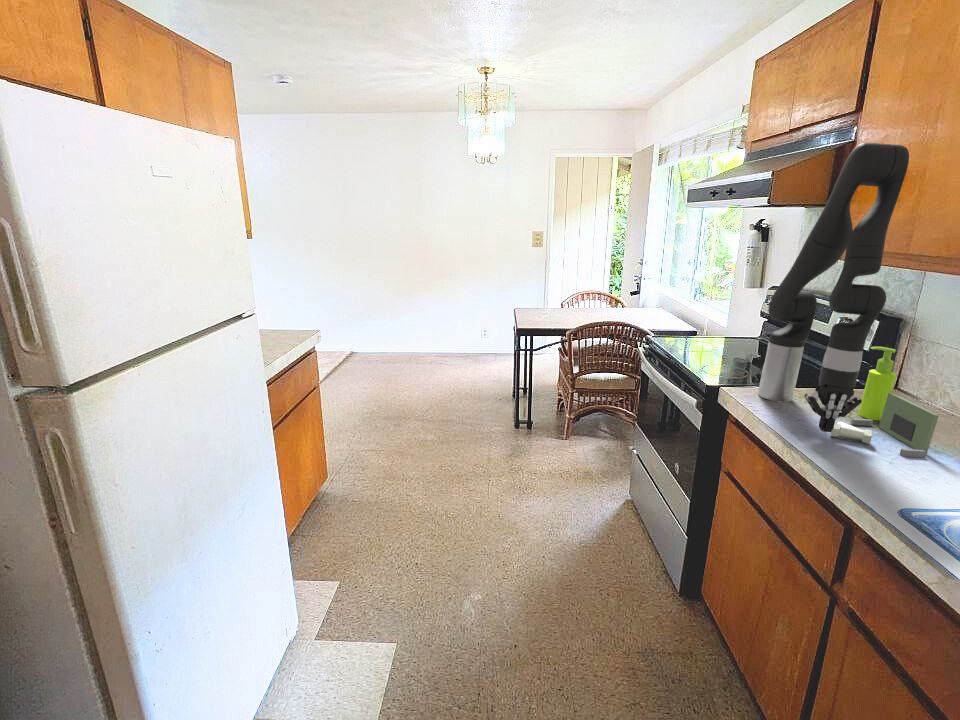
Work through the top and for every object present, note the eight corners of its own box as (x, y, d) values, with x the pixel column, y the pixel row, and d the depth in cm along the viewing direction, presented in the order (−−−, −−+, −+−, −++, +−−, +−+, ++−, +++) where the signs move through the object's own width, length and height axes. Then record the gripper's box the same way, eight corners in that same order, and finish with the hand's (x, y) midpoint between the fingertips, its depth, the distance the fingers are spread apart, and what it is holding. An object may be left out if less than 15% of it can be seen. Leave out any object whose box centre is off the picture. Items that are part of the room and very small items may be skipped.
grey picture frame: (850, 423, 135) (859, 389, 132) (877, 424, 134) (887, 390, 131) (902, 456, 117) (913, 417, 114) (933, 457, 116) (945, 418, 114)
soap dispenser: (855, 409, 145) (873, 343, 139) (885, 416, 140) (904, 348, 134) (851, 414, 141) (869, 347, 135) (882, 422, 136) (901, 352, 130)
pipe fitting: (829, 431, 131) (829, 438, 125) (833, 417, 130) (833, 424, 125) (867, 439, 127) (869, 447, 121) (870, 425, 126) (872, 432, 120)
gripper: (859, 363, 124) (843, 426, 129) (804, 360, 125) (790, 423, 130) (879, 372, 117) (861, 438, 122) (821, 369, 118) (805, 435, 123)
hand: (824, 430), depth 126 cm, fingers closed
